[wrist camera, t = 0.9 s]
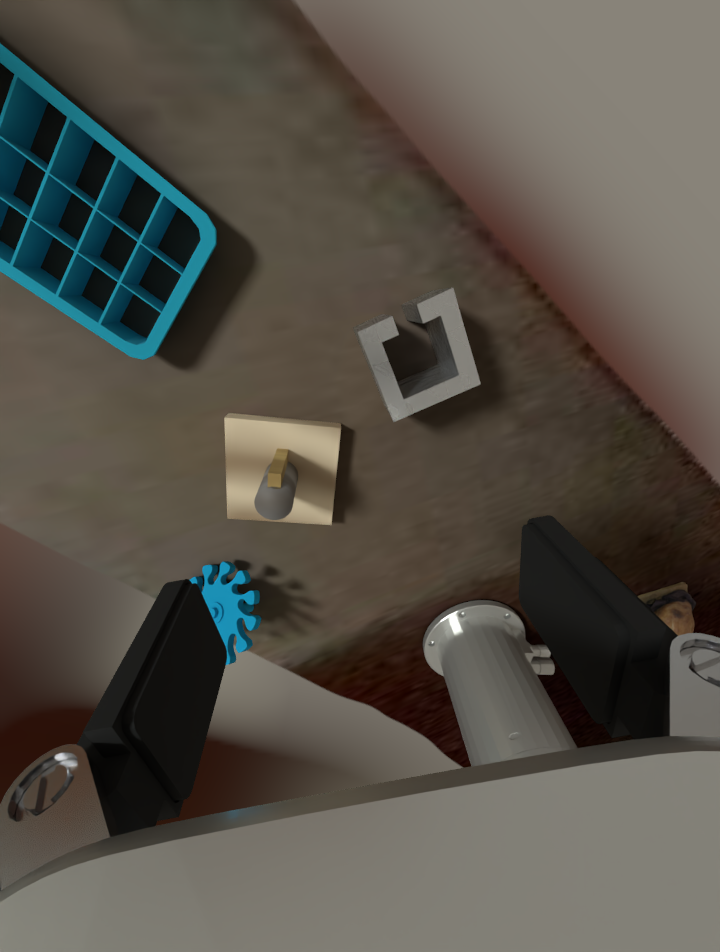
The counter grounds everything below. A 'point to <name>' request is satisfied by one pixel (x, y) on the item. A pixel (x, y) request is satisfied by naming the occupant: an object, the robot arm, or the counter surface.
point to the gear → (229, 606)
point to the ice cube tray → (3, 158)
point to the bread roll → (672, 607)
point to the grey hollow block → (448, 347)
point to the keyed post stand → (280, 468)
